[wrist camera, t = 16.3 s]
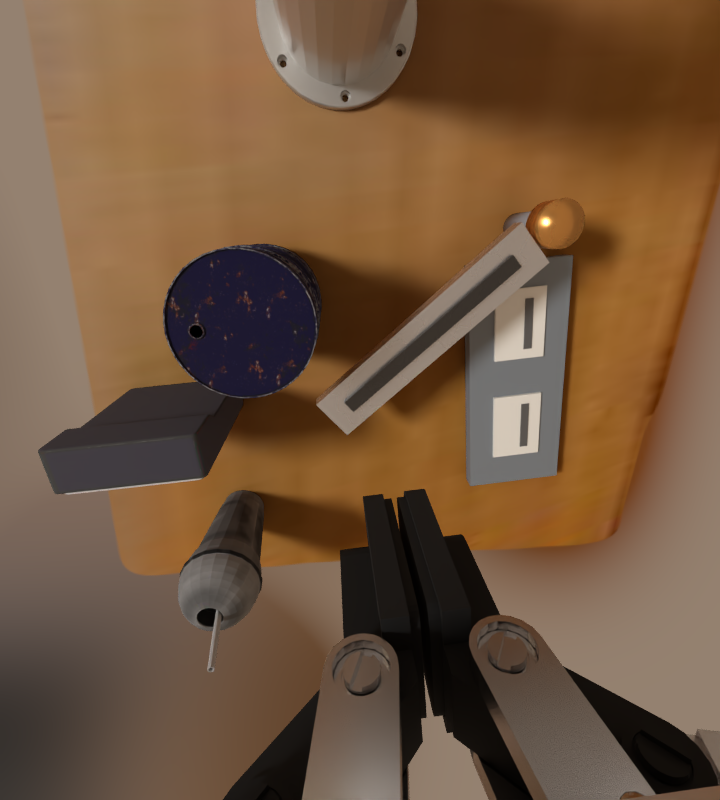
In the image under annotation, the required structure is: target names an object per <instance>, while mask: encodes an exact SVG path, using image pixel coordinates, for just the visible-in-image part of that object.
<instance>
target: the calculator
mask: <svg viewBox="0 0 720 800" xmlns="http://www.w3.org/2000/svg"><path fill="white" fill-rule="evenodd" d="M242 406H243V399H242V398H237V397H230V396H226V395H223V394H219V393H217V392H215V391H212V390H210V389H208V388H206V387H205V386H203V385H201V384H200V383H198V382H192V383H182V384H172V385H163V386H153V387H143V388H134V389H131V390H129V391H128V392H126V393H125V394H124V395H123V396H121V397H120V398H119V399H117V400H116V401H115V402H113V403H112V404H111V405H109V406H108V407H107V408H106V409H104V410H103V411H102V412H100V413H99V414H98V415H96V416H95V417H94V418H92V419H91V420H90V421H89V422H87V423H86V424H85V425H83V426H82V427H81V428H76V429H67V430H65V431H64V432H62V433H61V434H60V435H58V436H57V437H55V438H54V439H53V440H51V441H50V442H49V443H47V444H46V445H44V446H43V447H42V448H40V449H39V450H38V453H39V456H40V458H41V461H42V463H43V466H44V468H45V471H46V473H47V476H48V478H49V481H50V483H51V486H52V488H53V491H54V492H55V494H64V493H65V494H78V493H86V492H96V491H105V490H114V489H123V488H132V487H141V486H150V485H159V484H168V483H176V482H185V481H194V480H201V479H203V478H204V477H206V476H207V475H208V473H209V471H210V469H211V467H212V465H213V463H214V461H215V460H216V458H217V456H218V454H219V452H220V450H221V448H222V446H223V444H224V442H225V440H226V438H227V436H228V434H229V432H230V430H231V428H232V426H233V424H234V422H235V420H236V418H237V416H238V414H239V412H240V410H241V408H242Z"/></svg>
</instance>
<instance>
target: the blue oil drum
mask: <svg viewBox="0 0 720 800" xmlns="http://www.w3.org/2000/svg"><path fill="white" fill-rule="evenodd" d="M321 309H322V308H321V294H320V289H319V285H318V282H317V279H316V277H315V275H314V273H313V271H312V270H311V268H310V267H309V266H308V264H307V263H306V262H305V261H304V260H303V259H302V258H301V257H299V256H298V255H297V254H295V253H294V252H292V251H290V250H288V249H286V248H283V247H280V246H276V245H270V244H254V245H237V246H230V247H224V248H221V249H217V250H213V251H210V252H207V253H205V254H202V255H201V256H199V257H197V258H195V259H193V260H192V261H191V262H189V263H188V264H187V265H186V266H185V267H183V268H182V270H181V271H180V272H179V273H178V274H177V276H176V277H175V278H174V280H173V282H172V284H171V285H170V287H169V290H168V292H167V295H166V298H165V303H164V309H163V324H164V331H165V336H166V339H167V342H168V345H169V347H170V349H171V351H172V353H173V355H174V357H175V358H176V360H177V361H178V363H179V364H180V366H181V367H182V368H183V369H184V370H185V371H186V372H187V373H188V374H189V375H190V376H191V377H192V378H193V379H194V380H196V381H197V382H198V383H200V384H201V385H203V386H205V387H206V388H208V389H210V390H212V391H215V392H217V393H219V394H223V395H226V396H230V397H237V398H256V397H262V396H266V395H269V394H273V393H275V392H277V391H279V390H281V389H283V388H285V387H286V386H288V385H289V384H291V383H292V382H293V381H294V380H295V379H296V378H297V377H298V376H299V375H300V374H301V373H302V372H303V370H304V369H305V368H306V366H307V365H308V363H309V361H310V359H311V357H312V355H313V351H314V348H315V345H316V341H317V338H318V333H319V326H320V316H321Z"/></svg>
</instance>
